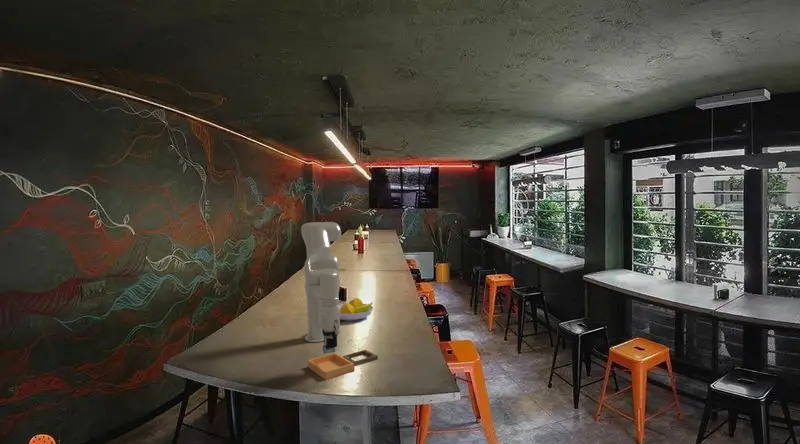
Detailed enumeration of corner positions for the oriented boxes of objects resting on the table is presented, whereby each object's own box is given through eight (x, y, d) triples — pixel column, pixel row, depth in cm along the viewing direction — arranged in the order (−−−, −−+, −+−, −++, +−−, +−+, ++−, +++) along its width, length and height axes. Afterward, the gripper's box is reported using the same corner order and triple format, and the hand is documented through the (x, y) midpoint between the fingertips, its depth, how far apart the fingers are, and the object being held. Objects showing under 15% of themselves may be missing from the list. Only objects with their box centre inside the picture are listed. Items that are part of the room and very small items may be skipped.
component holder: (342, 359, 172) (342, 356, 172) (365, 352, 180) (365, 349, 180) (354, 366, 165) (354, 362, 164) (377, 359, 172) (377, 355, 172)
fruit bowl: (321, 318, 238) (320, 299, 238) (357, 309, 256) (357, 292, 256) (346, 328, 217) (346, 308, 217) (384, 318, 235) (384, 299, 235)
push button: (337, 348, 165) (337, 325, 165) (339, 353, 160) (339, 329, 160) (321, 350, 163) (321, 327, 163) (323, 355, 158) (323, 330, 158)
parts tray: (308, 367, 164) (307, 360, 164) (335, 359, 172) (335, 352, 172) (325, 380, 152) (325, 372, 152) (354, 371, 160) (354, 363, 160)
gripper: (312, 299, 165) (313, 342, 166) (330, 307, 152) (332, 353, 153) (328, 297, 170) (329, 338, 171) (347, 304, 157) (348, 349, 157)
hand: (330, 345), depth 162 cm, fingers closed on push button, 4 cm apart
